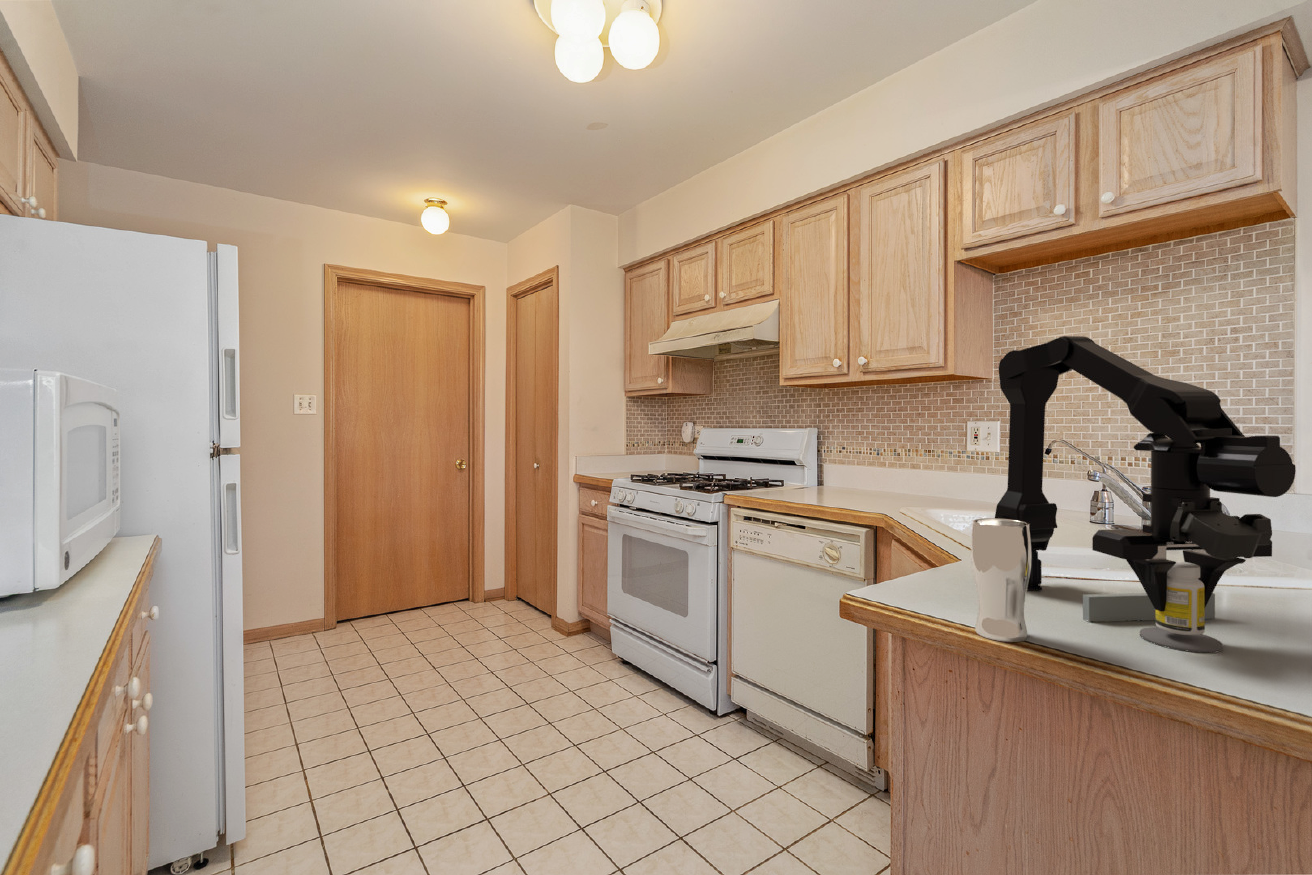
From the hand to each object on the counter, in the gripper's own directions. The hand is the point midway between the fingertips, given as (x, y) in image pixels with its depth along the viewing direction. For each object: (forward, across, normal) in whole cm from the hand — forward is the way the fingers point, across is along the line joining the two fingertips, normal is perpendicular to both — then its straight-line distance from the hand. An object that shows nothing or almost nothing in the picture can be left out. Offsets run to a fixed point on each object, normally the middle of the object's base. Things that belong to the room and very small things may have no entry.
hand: (1179, 610), depth 78 cm
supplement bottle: (+3, 0, 0) cm, 3 cm away
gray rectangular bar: (+4, +3, +8) cm, 10 cm away
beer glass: (+4, -21, +4) cm, 21 cm away
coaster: (+4, 0, 0) cm, 4 cm away
